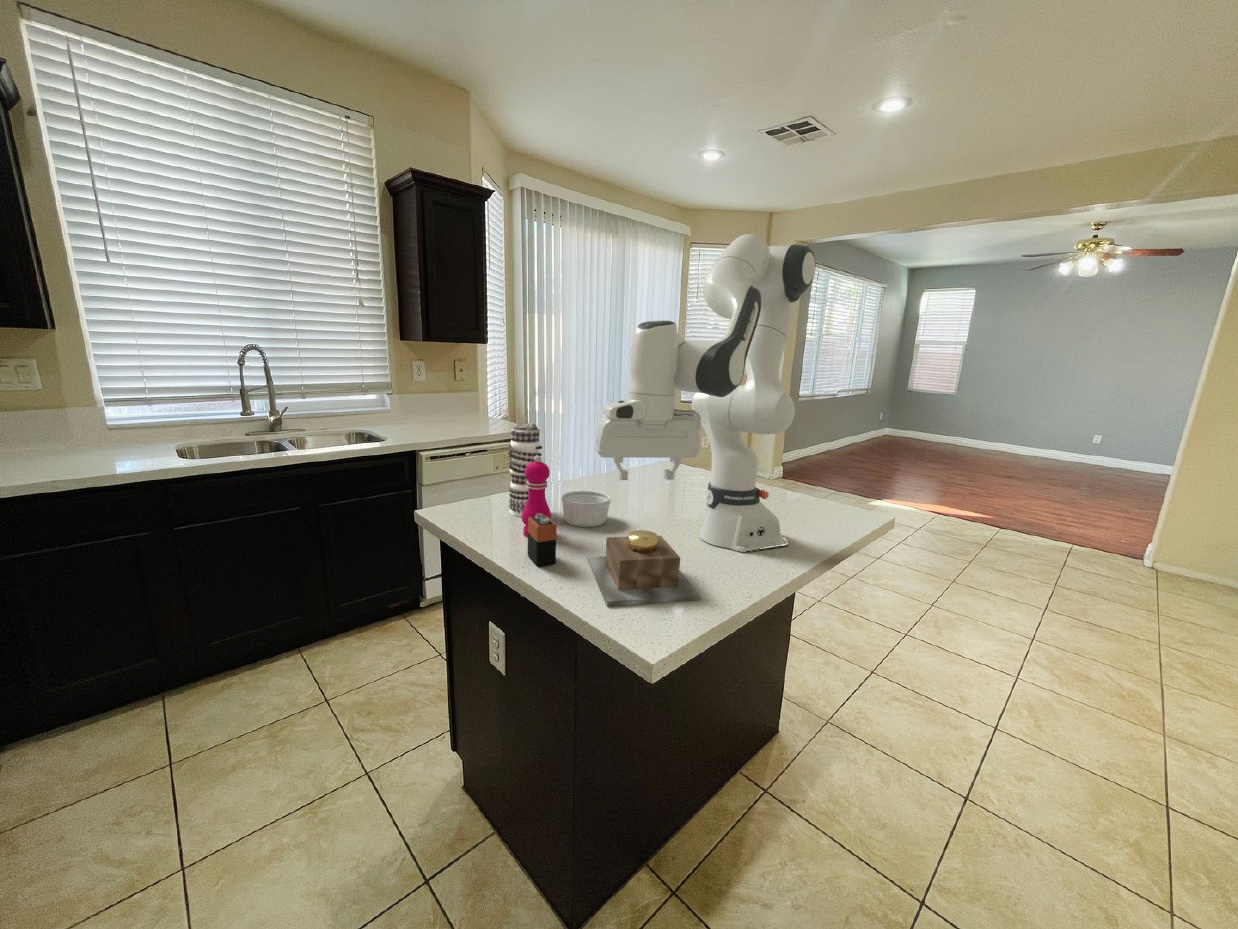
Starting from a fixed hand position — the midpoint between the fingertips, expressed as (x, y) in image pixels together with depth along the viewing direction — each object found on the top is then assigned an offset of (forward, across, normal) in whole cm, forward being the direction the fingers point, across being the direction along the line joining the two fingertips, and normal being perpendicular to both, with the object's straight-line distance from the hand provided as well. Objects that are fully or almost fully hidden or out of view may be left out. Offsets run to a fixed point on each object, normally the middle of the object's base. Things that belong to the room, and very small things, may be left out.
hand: (646, 479), depth 95 cm
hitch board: (+21, 0, 0) cm, 21 cm away
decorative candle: (+21, +21, -46) cm, 55 cm away
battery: (+21, +19, -12) cm, 31 cm away
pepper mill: (+21, +19, -28) cm, 40 cm away
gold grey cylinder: (+20, 0, 0) cm, 20 cm away
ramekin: (+21, +5, -37) cm, 43 cm away
